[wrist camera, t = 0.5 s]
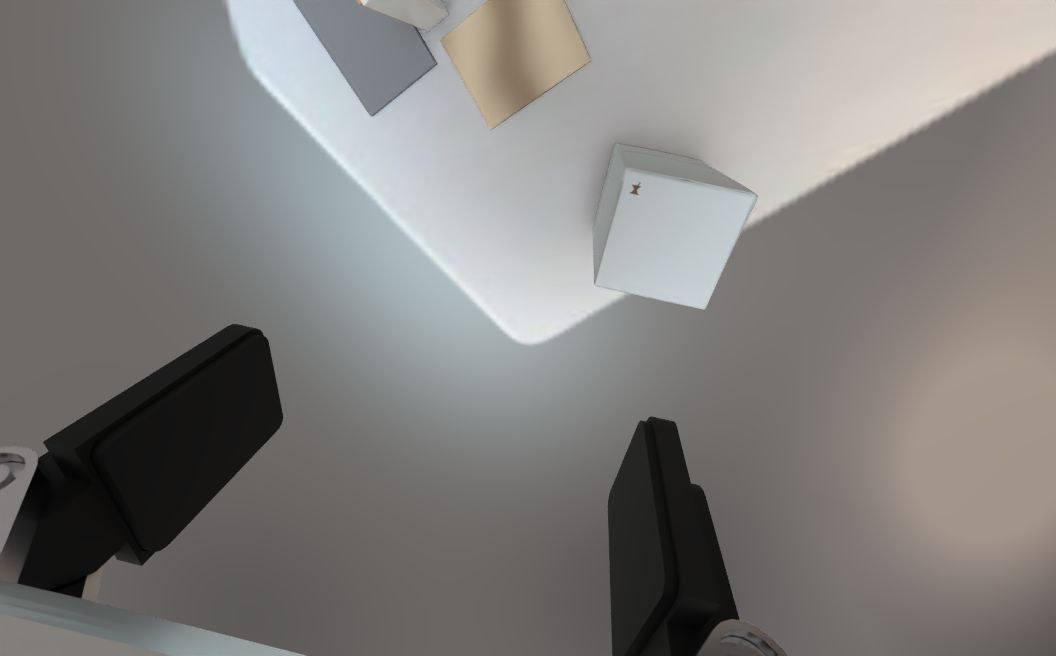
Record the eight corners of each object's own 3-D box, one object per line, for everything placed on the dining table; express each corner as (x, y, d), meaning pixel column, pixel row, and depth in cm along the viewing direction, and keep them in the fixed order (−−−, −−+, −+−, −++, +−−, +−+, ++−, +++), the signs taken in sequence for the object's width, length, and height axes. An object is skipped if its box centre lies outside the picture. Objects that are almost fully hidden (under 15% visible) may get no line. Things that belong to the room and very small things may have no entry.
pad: (543, -45, 28) (543, -47, 27) (590, 60, 30) (590, 60, 30) (441, 40, 31) (440, 40, 31) (491, 129, 33) (490, 129, 33)
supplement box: (590, 230, 36) (588, 286, 25) (614, 140, 32) (624, 162, 22) (672, 248, 36) (705, 314, 25) (706, 160, 32) (762, 192, 21)
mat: (331, -118, 27) (327, -121, 27) (436, 64, 32) (435, 63, 31) (266, -43, 30) (262, -45, 29) (372, 116, 34) (370, 116, 34)
